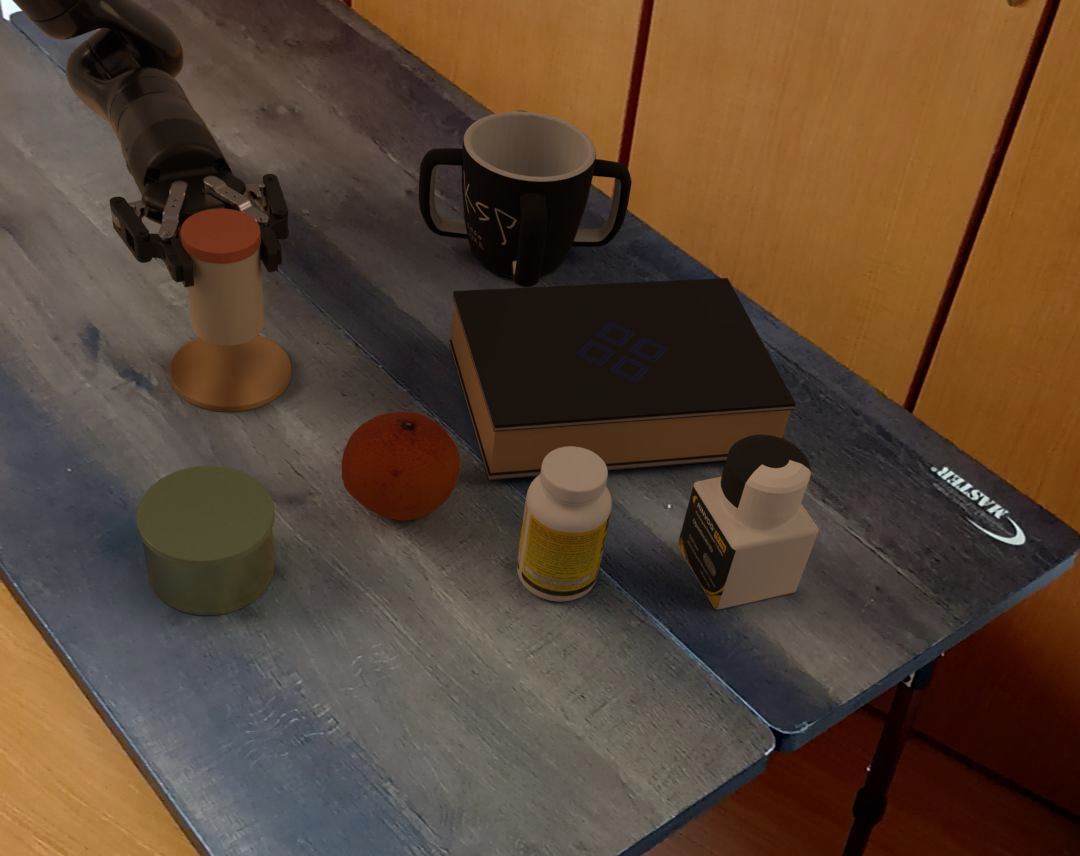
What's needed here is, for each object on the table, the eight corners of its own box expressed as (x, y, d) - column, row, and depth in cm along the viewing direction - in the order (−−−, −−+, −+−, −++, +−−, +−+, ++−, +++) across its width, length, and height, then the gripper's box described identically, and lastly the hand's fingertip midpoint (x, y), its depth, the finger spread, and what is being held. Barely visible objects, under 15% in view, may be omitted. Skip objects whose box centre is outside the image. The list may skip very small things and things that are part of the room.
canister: (194, 349, 106) (184, 255, 99) (186, 304, 109) (177, 210, 103) (270, 343, 107) (265, 250, 101) (260, 298, 111) (255, 205, 104)
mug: (400, 239, 128) (405, 126, 119) (524, 191, 136) (536, 83, 128) (509, 325, 121) (522, 212, 112) (633, 270, 129) (654, 160, 120)
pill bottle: (609, 595, 99) (633, 490, 91) (533, 613, 97) (551, 507, 89) (578, 537, 103) (598, 431, 95) (504, 553, 101) (518, 446, 93)
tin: (150, 626, 92) (141, 569, 88) (140, 531, 98) (131, 472, 94) (285, 608, 95) (283, 551, 90) (267, 516, 101) (264, 458, 97)
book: (448, 351, 117) (453, 290, 112) (712, 336, 123) (727, 277, 118) (487, 487, 106) (494, 425, 101) (776, 463, 111) (796, 403, 107)
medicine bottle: (675, 545, 103) (705, 431, 95) (755, 528, 106) (792, 415, 97) (714, 612, 99) (750, 499, 90) (797, 593, 101) (839, 481, 93)
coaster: (176, 417, 107) (175, 412, 107) (165, 341, 114) (164, 335, 113) (299, 405, 110) (299, 400, 109) (282, 331, 116) (282, 326, 116)
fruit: (474, 481, 106) (482, 406, 100) (426, 553, 100) (431, 477, 94) (375, 445, 108) (377, 369, 102) (322, 514, 102) (321, 437, 96)
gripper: (79, 128, 106) (132, 244, 96) (254, 105, 111) (320, 213, 102) (92, 208, 112) (143, 326, 102) (258, 183, 117) (321, 293, 107)
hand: (231, 269), depth 102 cm, fingers closed on canister, 6 cm apart
